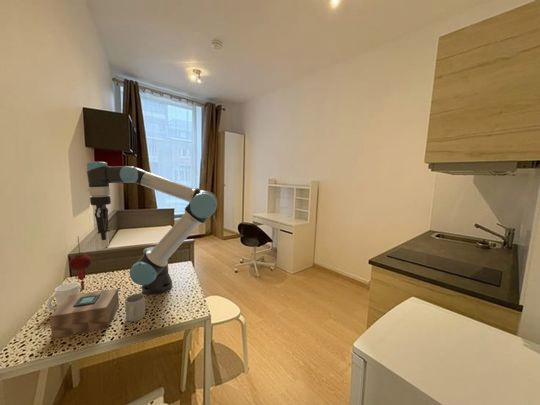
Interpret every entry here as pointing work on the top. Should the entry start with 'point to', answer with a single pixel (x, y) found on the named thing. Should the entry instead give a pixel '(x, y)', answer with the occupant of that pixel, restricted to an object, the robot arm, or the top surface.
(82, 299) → the peg
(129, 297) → the cup
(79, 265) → the lantern
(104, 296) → the socket block
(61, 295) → the mug
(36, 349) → the top surface
